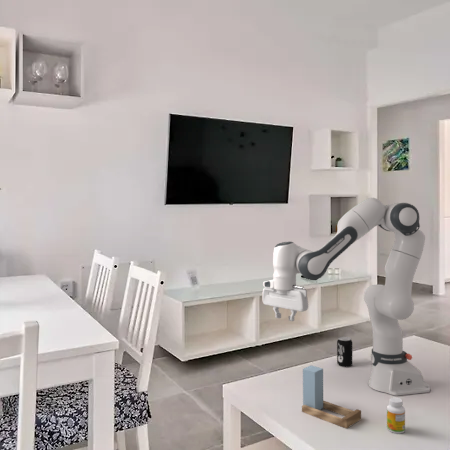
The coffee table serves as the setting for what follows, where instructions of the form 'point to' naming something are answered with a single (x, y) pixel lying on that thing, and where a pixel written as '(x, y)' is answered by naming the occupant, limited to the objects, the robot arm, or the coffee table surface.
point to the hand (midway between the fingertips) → (284, 319)
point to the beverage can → (344, 351)
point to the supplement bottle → (395, 415)
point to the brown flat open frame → (345, 422)
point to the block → (313, 387)
